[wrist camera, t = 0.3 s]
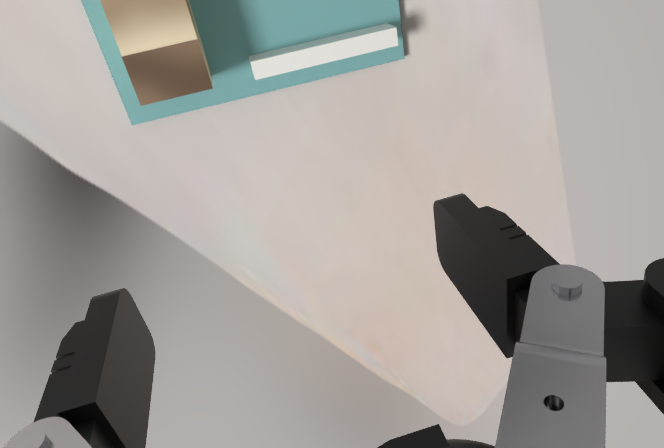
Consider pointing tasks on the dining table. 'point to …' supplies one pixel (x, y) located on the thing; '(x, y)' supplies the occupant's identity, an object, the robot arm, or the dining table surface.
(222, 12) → the rubber mat
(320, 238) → the dining table surface
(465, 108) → the dining table surface
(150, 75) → the tan rectangular block
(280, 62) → the pair of grey bars
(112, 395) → the robot arm
